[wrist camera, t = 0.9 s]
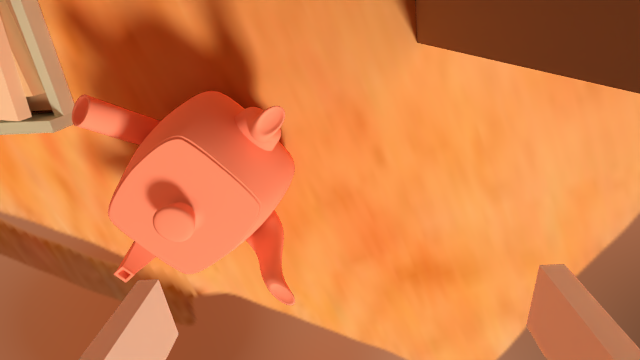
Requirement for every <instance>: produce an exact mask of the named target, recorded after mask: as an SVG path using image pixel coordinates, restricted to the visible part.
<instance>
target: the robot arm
mask: <svg viewBox="0 0 640 360" xmlns="http://www.w3.org/2000/svg"><path fill="white" fill-rule="evenodd" d="M526 326H527V328H528V329H529V331H530V333H531V334H532V336H533V338H534V340H535V341H536V343H537V345H538V346H539V348H540V350H541V351H542V353H543V355H544V356H545V358H546V360H640V349H639V348H638V347H637V346H636V344H635V343H634V342H633V341H632V340H631V339H630V338H629V337H628V336H627V335H626V333H625V332H624V331H623V330H622V329H621V328H620V326H619V325H618V324H617V323H616V322H615V321H614V320H613V319H612V318H611V316H610V315H609V314H608V313H607V312H606V311H605V310H604V309H603V307H602V306H601V305H600V304H599V303H598V302H597V301H596V299H595V298H594V297H593V296H592V295H591V294H590V293H589V292H588V290H587V289H586V288H585V287H584V286H583V285H582V284H581V283H580V282H579V280H578V279H577V278H576V277H575V276H574V275H573V274H572V272H571V271H570V270H569V269H568V268H567V267H566V266H565V265H564V264H557V265H540V266H539V270H538V275H537V279H536V284H535V289H534V293H533V298H532V302H531V307H530V311H529V316H528V320H527V325H526ZM177 336H178V331H177V328H176V326H175V323H174V320H173V318H172V315H171V312H170V310H169V307H168V304H167V301H166V299H165V296H164V293H163V291H162V288H161V285H160V282H159V280H138V281H137V283H136V284H135V285H134V287H133V288H132V289H131V291H130V292H129V293H128V295H127V296H126V297H125V299H124V300H123V301H122V303H121V304H120V305H119V307H118V308H117V309H116V311H115V312H114V314H113V315H112V316H111V318H110V319H109V320H108V321H107V323H106V324H105V325H104V327H103V328H102V329H101V331H100V332H99V333H98V335H97V336H96V337H95V339H94V340H93V341H92V343H91V344H90V345H89V347H88V348H87V349H86V351H85V352H84V353H83V355H82V356H81V357H80V359H79V360H166V358H167V356H168V354H169V352H170V350H171V348H172V346H173V344H174V342H175V340H176V338H177Z"/></svg>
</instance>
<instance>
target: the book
mask: <svg viewBox="0 0 640 360" xmlns="http://www.w3.org/2000/svg"><path fill="white" fill-rule="evenodd" d="M415 6H416V26H417V43H421V44H426V45H430V46H434V47H439V48H443V49H447V50H452V51H456V52H461V53H465V54H469V55H474V56H478V57H482V58H487V59H491V60H495V61H500V62H504V63H509V64H513V65H517V66H522V67H526V68H530V69H535V70H539V71H544V72H548V73H552V74H557V75H561V76H565V77H570V78H574V79H579V80H583V81H587V82H592V83H596V84H600V85H605V86H609V87H613V88H618V89H622V90H627V91H631V92H635V93H640V0H415Z"/></svg>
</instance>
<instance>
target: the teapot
mask: <svg viewBox="0 0 640 360" xmlns="http://www.w3.org/2000/svg"><path fill="white" fill-rule="evenodd" d="M284 119H285V111H284V110H283V108H281V107H280V106H273V107H270V108H268V109H266V110H263V109H261V108H258V107H249V108H246V109H244V108H243V107H242V106H241V105H239V104H238V103H237V102H235V101H234V100H232V99H231V98H230V97H228V96H227V95H225V94H223V93H221V92H217V91H205V92H203V93H200V94H197V95H196V96H194V97H192V98H191V99H189V100H187V101H186V102H184V103H183V104H182V105H180V106H179V107H177V108H176V109H175V110H173V111H172V112H171V113H169V114H168V115H167V116H166V117H165V118H164V119H163V120H162V121H159V120H156V119H153V118H151V117H148V116H145V115H142V114H139V113H136V112H133V111H130V110H128V109H125V108H122V107H119V106H116V105H113V104H110V103H108V102H105V101H102V100H99V99H96V98H93V97H90V96H88V95H82V96H80V97H79V98H78V99H77V101H76V103H75V105H74V108H73V111H72V122H73V124H74V125H75V126H78V127H81V128H85V129H88V130H91V131H95V132H98V133H101V134H105V135H108V136H111V137H115V138H118V139H121V140H125V141H128V142H131V143H135V144H138V145H140V146H139V147H138V148H137V150H136V151H135V153H134V155H133V156H132V158H131V160H130V162H129V164H128V166H127V168H126V169H125V171H124V173H123V175H122V177H121V180H120V182H119V184H118V186H117V188H116V190H115V192H114V194H113V197H112V199H111V202H110V205H109V209H108V215H109V218H110V220H111V221H112V222H113V224H114V225H116V226H117V227H118V228H119V229H120V230H121V231H122V232H124V233H125V234H126V235H127V236H129V237H130V238H131V239H133V240H134V242H133V244H132V246H131V247H130V249H129V251H128V252H127V254H126V256H125V257H124V259H123V261H122V263H121V264H120V266H119V267H118V269H117V271H116V272H115V273H114V275H116V276H117V277H118V278H120V279H121V280H123V281H124V282H125V283H126V282H127V281H128V280H129V279H131V278H132V277H133V276H134V275H135V274H136V273H137V272H138V271H139V270H140V269H142V268H143V267H144V266H145V265H147V264H148V263H149V262H150V261H151V260H153V259H154V258H155V257H157V258H159V259H160V260H162V261H163V262H165V263H167V264H168V265H170V266H171V267H173V268H175V269H177V270H178V271H180V272H182V273H185V274H194V273H197V272H200V271H202V270H204V269H206V268H208V267H209V266H211V265H212V264H214V263H215V262H217V261H218V260H220V259H221V258H223V257H224V256H226V255H227V254H228V253H230V252H231V251H232V250H234V249H235V248H236V247H238V246H239V245H240V244H241V243H243V242H244V241H245V240H246V241H247V242H248V243H249V244H250V245H251V247H252V248H253V249H254V251H255V252H256V254H257V257H258V260H259V264H260V270H261V274H262V277H263V280H264V282H265V284H266V286H267V288H268V290H269V291H270V292H271V293H272V295H273V296H274V297H276V298H277V299H278V300H279V301H281V302H282V303H284V304H286V305H294V303H295V299H294V296H293V294H292V292H291V291H290V289H289V287H288V286H287V284H286V282H285V280H284V277H283V274H282V267H281V264H282V251H283V241H284V233H283V227H282V224H281V222H280V219H279V217H278V215H277V214H276V212H275V210H274V209H275V208H276V206H277V205H278V203H279V202H280V201H281V199H282V197H283V196H284V194H285V192H286V191H287V189H288V187H289V185H290V183H291V181H292V178H293V175H294V170H295V166H294V161H293V159H292V157H291V155H290V153H289V152H288V151H287V150H286V149H285V147H284V146H283V145H282V144H281V143H280V142H279V139H280V137H281V129H280V127H281V125H282V123H283V121H284Z"/></svg>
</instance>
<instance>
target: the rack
mask: <svg viewBox="0 0 640 360" xmlns="http://www.w3.org/2000/svg"><path fill="white" fill-rule="evenodd" d="M73 108H74V102H73V99H72V96H71V93H70V90H69V88H68V85H67V82H66V79H65V76H64V74H63V71H62V68H61V65H60V62H59V60H58V57H57V54H56V51H55V48H54V45H53V43H52V40H51V37H50V34H49V31H48V29H47V26H46V23H45V20H44V17H43V15H42V12H41V9H40V6H39V3H38V1H37V0H0V135H6V134H30V133H54V132H56V131H59V130H61V129H64V128H66V127H68V126H71V125H73V122H72V111H73ZM40 110H53V112H40V113H31V112H30V111H40Z"/></svg>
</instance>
